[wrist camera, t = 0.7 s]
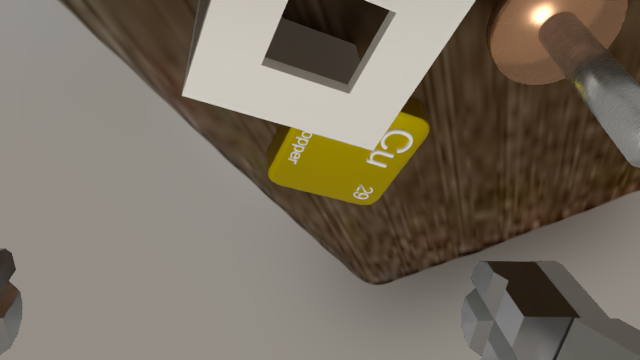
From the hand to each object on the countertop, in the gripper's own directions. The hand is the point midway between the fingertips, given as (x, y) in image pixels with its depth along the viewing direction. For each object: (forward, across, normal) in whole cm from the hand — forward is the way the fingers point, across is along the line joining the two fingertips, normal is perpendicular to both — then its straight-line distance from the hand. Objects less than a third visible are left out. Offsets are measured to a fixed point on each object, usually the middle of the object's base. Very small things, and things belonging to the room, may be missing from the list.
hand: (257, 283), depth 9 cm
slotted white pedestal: (+42, -5, -4) cm, 42 cm away
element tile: (+49, -11, +16) cm, 53 cm away
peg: (+42, -23, -5) cm, 48 cm away
